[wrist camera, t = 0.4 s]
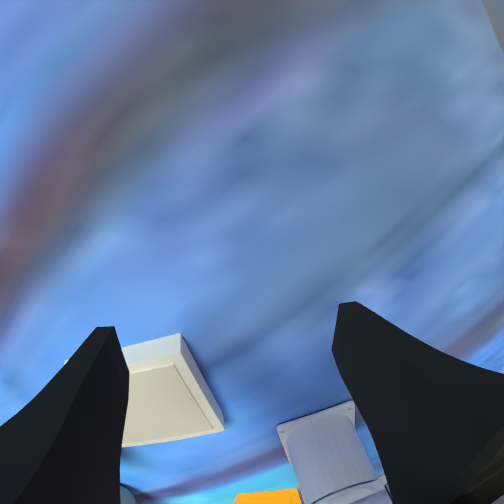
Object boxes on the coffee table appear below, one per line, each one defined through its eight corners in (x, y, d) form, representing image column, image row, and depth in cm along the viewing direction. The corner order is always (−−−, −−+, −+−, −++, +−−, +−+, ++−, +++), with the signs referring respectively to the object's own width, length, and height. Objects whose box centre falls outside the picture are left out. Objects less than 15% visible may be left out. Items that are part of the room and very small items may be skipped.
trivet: (222, 408, 27) (225, 431, 24) (124, 426, 26) (122, 448, 24) (180, 328, 22) (180, 353, 20) (67, 355, 22) (58, 379, 19)
